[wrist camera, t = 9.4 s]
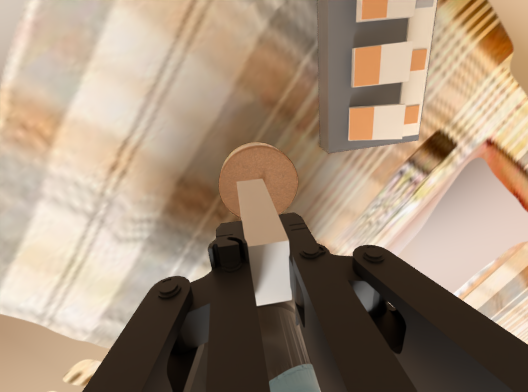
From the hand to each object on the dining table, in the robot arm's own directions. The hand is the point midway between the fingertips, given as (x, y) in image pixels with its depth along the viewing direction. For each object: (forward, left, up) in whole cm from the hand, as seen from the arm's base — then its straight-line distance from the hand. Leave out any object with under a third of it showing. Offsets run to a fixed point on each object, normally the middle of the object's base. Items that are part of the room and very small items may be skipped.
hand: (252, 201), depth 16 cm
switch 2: (+6, -19, -21) cm, 29 cm away
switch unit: (+6, -20, -27) cm, 34 cm away
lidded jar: (-7, -2, -27) cm, 28 cm away
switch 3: (-1, -19, -21) cm, 28 cm away
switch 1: (+13, -19, -21) cm, 31 cm away
